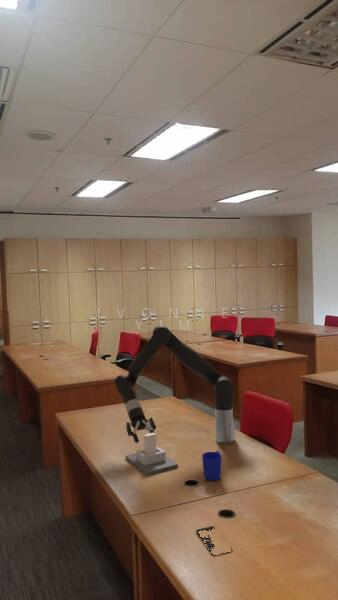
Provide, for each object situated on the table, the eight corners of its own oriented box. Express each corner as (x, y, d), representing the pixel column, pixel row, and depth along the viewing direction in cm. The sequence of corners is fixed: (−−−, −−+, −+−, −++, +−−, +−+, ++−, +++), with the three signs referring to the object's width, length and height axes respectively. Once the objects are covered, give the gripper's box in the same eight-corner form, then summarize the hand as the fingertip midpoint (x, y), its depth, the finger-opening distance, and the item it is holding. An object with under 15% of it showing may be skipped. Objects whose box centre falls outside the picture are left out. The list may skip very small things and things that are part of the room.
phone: (212, 555, 142) (194, 529, 156) (212, 558, 142) (194, 532, 156) (234, 550, 144) (214, 525, 159) (234, 552, 144) (214, 527, 159)
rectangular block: (156, 459, 214) (155, 434, 214) (147, 461, 212) (146, 436, 211) (154, 457, 217) (153, 432, 216) (144, 460, 214) (143, 434, 213)
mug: (227, 472, 202) (226, 450, 201) (218, 483, 191) (217, 460, 190) (209, 469, 205) (209, 447, 205) (199, 480, 194) (199, 457, 194)
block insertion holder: (177, 467, 209) (177, 455, 208) (146, 475, 201) (146, 463, 200) (155, 451, 228) (154, 440, 227) (125, 458, 220) (125, 447, 220)
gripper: (123, 409, 221) (134, 439, 212) (149, 404, 228) (161, 433, 219) (119, 417, 226) (130, 447, 216) (145, 412, 233) (156, 441, 224)
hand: (145, 440), depth 218 cm, fingers open, 8 cm apart
